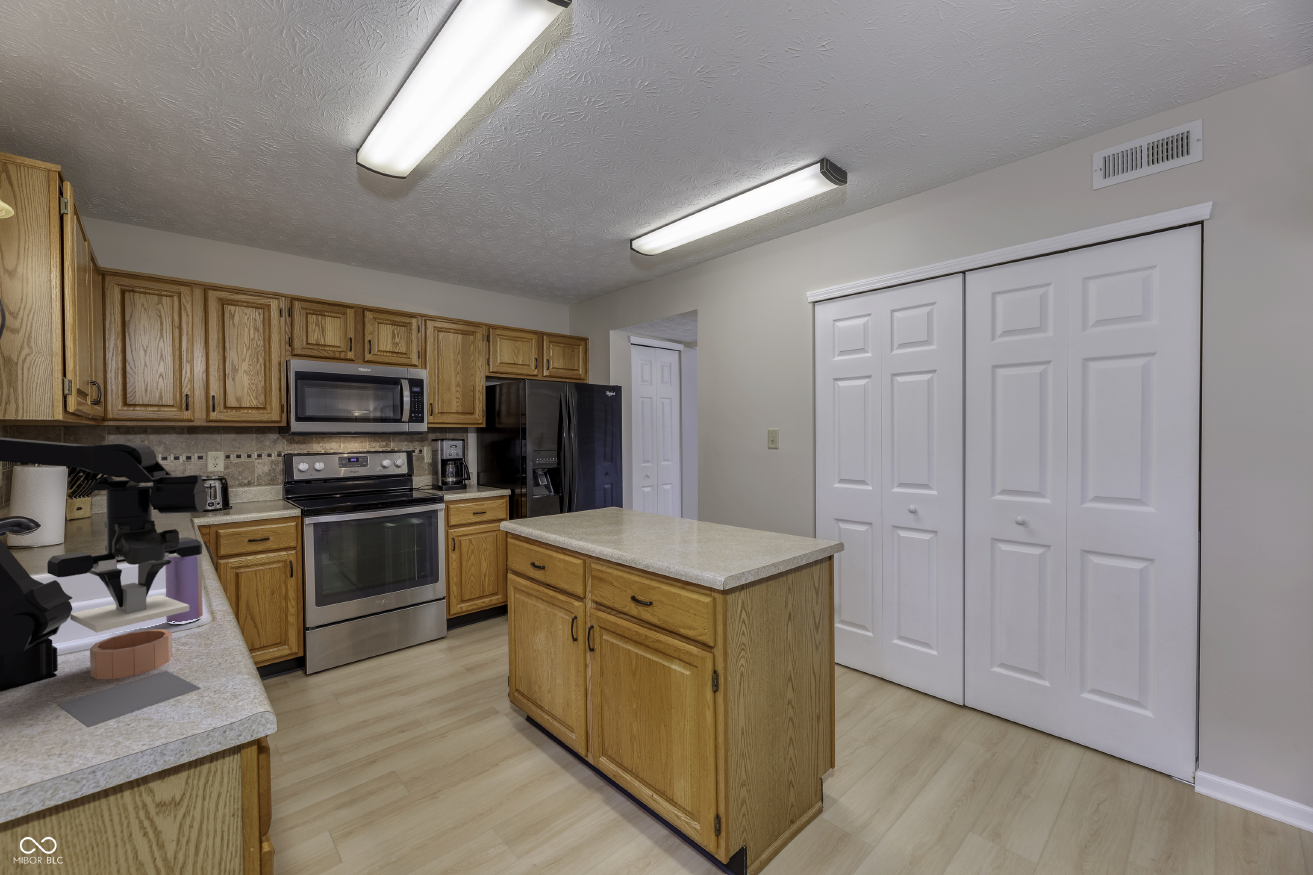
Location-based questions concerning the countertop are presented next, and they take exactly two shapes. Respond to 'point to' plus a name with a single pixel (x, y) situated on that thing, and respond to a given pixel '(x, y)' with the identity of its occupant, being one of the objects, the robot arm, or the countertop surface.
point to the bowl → (130, 654)
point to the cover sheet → (124, 619)
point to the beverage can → (185, 585)
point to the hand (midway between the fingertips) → (131, 604)
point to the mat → (127, 698)
